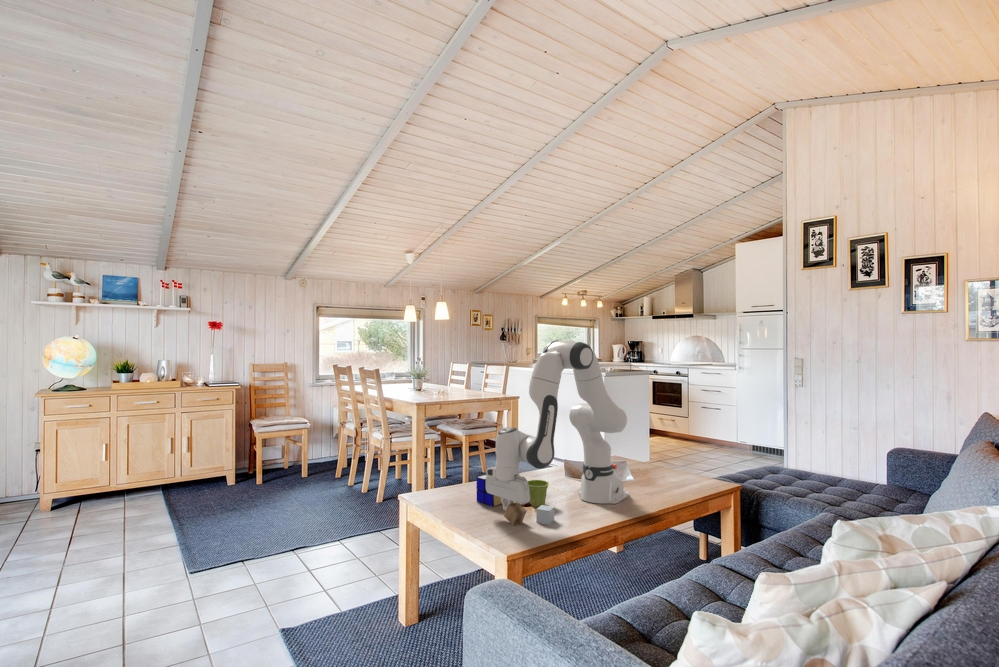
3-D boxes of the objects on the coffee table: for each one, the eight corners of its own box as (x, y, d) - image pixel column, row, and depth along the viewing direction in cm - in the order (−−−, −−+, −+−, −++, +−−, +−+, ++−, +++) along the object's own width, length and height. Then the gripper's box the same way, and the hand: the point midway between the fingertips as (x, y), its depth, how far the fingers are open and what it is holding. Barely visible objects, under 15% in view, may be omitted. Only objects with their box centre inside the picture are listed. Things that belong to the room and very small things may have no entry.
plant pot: (542, 509, 202) (542, 487, 202) (521, 505, 207) (521, 484, 207) (552, 503, 210) (552, 481, 210) (532, 499, 215) (532, 478, 215)
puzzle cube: (476, 501, 212) (476, 477, 212) (493, 496, 219) (493, 472, 219) (493, 507, 205) (493, 481, 205) (510, 501, 212) (510, 477, 212)
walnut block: (517, 501, 190) (526, 510, 187) (513, 512, 192) (522, 521, 188) (508, 504, 187) (517, 514, 183) (503, 516, 188) (512, 525, 185)
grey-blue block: (541, 518, 192) (541, 504, 192) (554, 520, 190) (554, 506, 190) (536, 522, 188) (536, 508, 188) (549, 524, 186) (549, 510, 186)
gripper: (533, 476, 185) (533, 515, 185) (495, 466, 200) (495, 502, 200) (521, 479, 181) (521, 519, 181) (482, 468, 196) (482, 505, 196)
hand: (507, 510), depth 191 cm, fingers closed
